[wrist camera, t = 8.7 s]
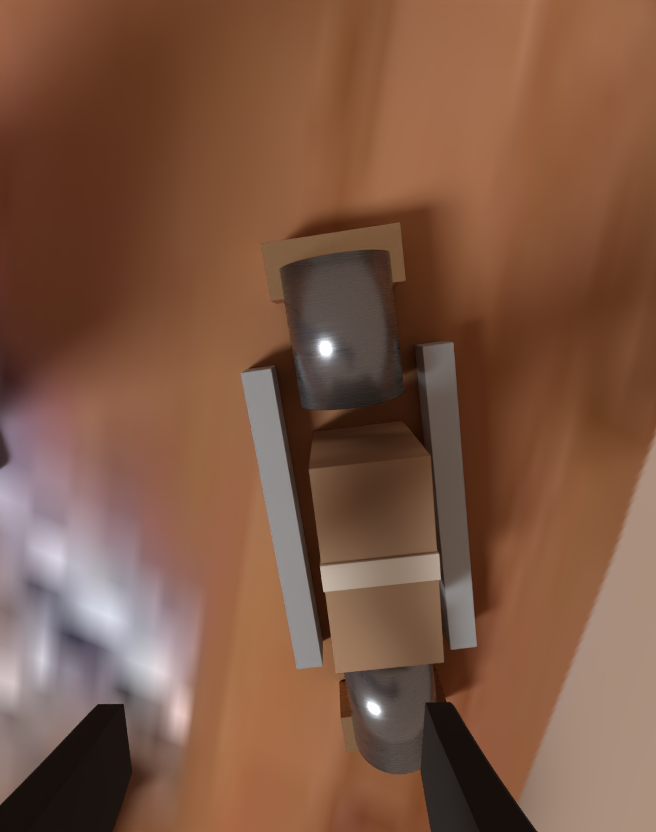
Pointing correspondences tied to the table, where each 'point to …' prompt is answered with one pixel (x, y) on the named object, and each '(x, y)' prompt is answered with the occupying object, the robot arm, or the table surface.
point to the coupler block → (377, 546)
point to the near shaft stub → (341, 313)
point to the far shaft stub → (388, 714)
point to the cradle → (447, 495)
